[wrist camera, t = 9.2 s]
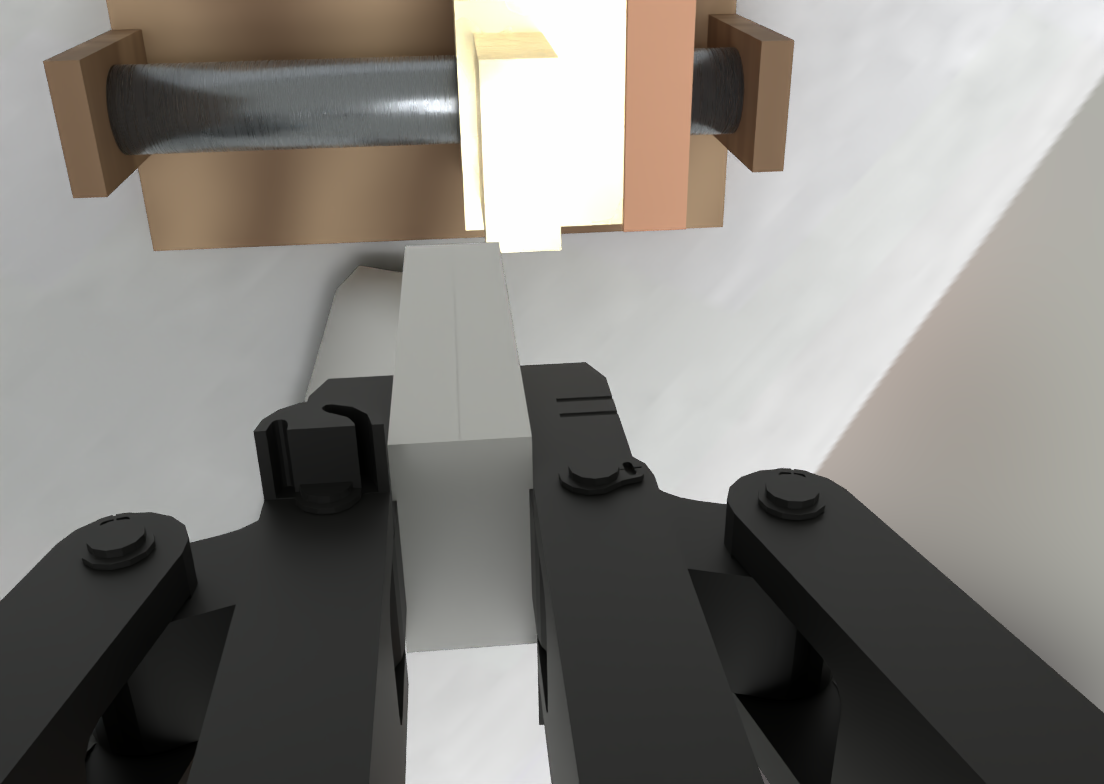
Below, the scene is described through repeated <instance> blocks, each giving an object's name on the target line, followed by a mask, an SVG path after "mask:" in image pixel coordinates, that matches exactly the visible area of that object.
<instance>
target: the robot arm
mask: <svg viewBox="0 0 1104 784" xmlns="http://www.w3.org/2000/svg"><path fill="white" fill-rule="evenodd" d="M254 437H255V443H256V450H257V456H258V462H259V469H260V475H261V481H262V488H263V494H264V504H263V507H262V511H261V515H260V518H259V520H258V521H257V522H255V523H252V524H250V525H248V526H246V527H244V528H242V529H239V530H236V531H233V532H230V533H227V534H223V535H220V536H216V537H212V538H208V539H204V540H200V541H196V542H192V543H190V541H189V537H188V534H187V530H186V527H185V525H184V524H182V523H181V522H179V521H178V520H176V519H175V518H173V517H172V516H167V515H162V514H157V513H152V512H146V513H122V514H116V516H113V515H111V516H108V517H104V518H101V519H99V520H97V521H95V522H93V523H91V524H88V525H86V526H84V527H81V528H79V529H77V530H75V531H74V532H72V533H71V534H70V535H68V536H67V537H66V538H64V539H63V540H62V541H60V542H59V543H58V544H56V545H55V546H54V547H53V548H52V550H51V551H50V552H49V553H48V554H47V555H46V556H45V557H44V558H43V559H42V560H41V561H40V562H39V563H38V564H37V565H36V566H35V567H34V568H33V569H32V570H31V571H30V572H29V573H28V574H27V575H26V576H25V577H24V578H23V579H22V580H21V581H20V582H19V583H18V584H17V585H16V586H15V587H14V588H13V589H12V590H11V591H10V592H9V593H8V594H7V595H6V596H5V597H4V598H3V599H2V600H1V601H0V784H405V773H406V742H407V711H408V674H407V663H406V653H405V637H406V647H407V653H411V652H424V651H437V650H451V649H464V648H478V647H491V646H504V645H518V644H531V643H537V653H538V693H539V725H544V726H545V734H546V742H547V750H548V759H549V767H550V775H551V783H552V784H764V782H763V779H762V776H761V773H760V770H761V771H762V773H763V774H764V775H765V777H766V778H767V780H768V781H769V783H770V784H1104V713H1103V712H1102V711H1101V710H1100V709H1098V708H1097V707H1096V706H1095V705H1094V704H1092V702H1090V701H1089V700H1088V699H1087V698H1086V697H1085V696H1083V695H1082V694H1081V693H1080V692H1079V691H1078V690H1077V689H1075V688H1074V687H1073V686H1072V685H1071V684H1070V683H1069V682H1067V681H1066V680H1065V679H1064V678H1063V677H1062V676H1060V675H1059V674H1058V673H1057V672H1056V671H1055V670H1054V669H1052V668H1051V667H1050V666H1049V665H1047V664H1046V663H1045V662H1044V661H1043V660H1042V659H1041V658H1040V657H1039V656H1037V655H1036V654H1035V653H1034V652H1033V651H1031V650H1030V649H1029V648H1028V647H1027V646H1026V645H1024V643H1022V642H1021V641H1020V640H1019V639H1018V638H1017V637H1015V636H1014V635H1013V634H1012V633H1011V632H1009V630H1007V629H1006V628H1005V627H1004V626H1003V625H1002V624H1000V623H999V622H998V621H997V620H996V619H995V618H994V617H992V616H991V615H990V614H989V613H988V612H987V611H986V610H984V609H983V608H982V607H981V606H980V605H979V604H977V603H976V602H975V601H974V600H973V599H972V598H970V597H969V596H968V595H967V594H966V593H965V592H964V591H962V590H961V589H960V588H959V587H958V586H957V585H956V584H954V583H953V582H952V581H951V580H950V579H949V578H947V577H946V576H945V575H944V574H943V573H942V572H940V571H939V570H938V569H937V568H936V567H935V566H934V565H932V564H931V563H930V562H929V561H928V560H927V559H925V558H924V557H923V556H922V555H921V554H920V553H919V552H917V551H916V550H915V549H914V548H913V547H911V545H909V544H908V543H907V542H906V541H905V540H903V538H901V537H900V536H899V535H898V534H897V533H895V532H894V531H893V530H892V529H891V528H890V527H889V526H888V525H886V524H885V523H884V522H883V521H882V520H881V519H879V518H878V517H877V516H876V515H875V514H874V513H873V512H871V511H870V510H869V509H868V508H867V507H866V506H864V505H863V504H862V503H861V502H860V501H859V500H857V499H856V498H855V497H854V496H853V495H852V494H851V493H849V492H848V491H847V490H846V489H844V488H843V487H841V486H839V485H838V484H836V483H835V482H833V481H831V480H830V479H828V478H825V477H822V476H818V475H815V474H812V473H809V472H807V471H803V470H797V469H794V470H791V469H786V468H779V469H774V470H762V471H757V472H754V473H751V474H749V475H746V476H743V477H741V478H739V479H738V480H737V481H736V482H735V483H734V484H733V485H732V486H730V488H729V493H728V498H727V504H719V503H711V502H703V501H696V500H691V499H685V498H680V497H677V496H674V495H671V494H668V493H666V492H663V491H661V490H659V488H658V485H657V482H656V479H655V477H654V474H653V473H652V472H651V471H650V469H649V468H648V467H647V465H646V464H645V463H643V462H641V461H639V460H638V459H636V458H634V457H632V454H631V451H630V448H629V445H628V442H627V439H626V436H625V433H624V430H623V427H622V424H621V421H620V418H619V415H618V414H617V410H616V407H615V404H614V401H613V399H612V395H611V392H610V389H609V386H608V383H607V380H606V377H604V376H603V375H602V374H600V373H599V372H598V371H596V370H595V369H594V368H592V367H591V366H590V365H588V364H587V363H586V362H582V363H563V364H544V365H525V366H520V363H519V357H518V351H517V345H516V340H515V334H514V328H513V322H512V316H511V310H510V304H509V298H508V292H507V286H506V280H505V274H504V268H503V263H502V257H501V251H500V245H499V242H483V243H460V244H437V245H413V246H405V253H404V265H403V276H402V287H401V298H400V309H399V321H398V332H397V343H396V354H395V365H394V375H388V376H369V377H351V378H332V379H327V380H326V381H325V382H324V383H323V384H322V385H321V386H320V387H319V388H317V389H316V390H315V391H314V392H313V393H312V394H311V395H310V396H309V397H308V401H307V402H302V403H298V404H295V405H292V406H289V407H286V408H283V409H280V410H278V411H276V412H274V413H273V414H271V415H270V416H268V417H266V418H265V419H263V420H262V421H261V422H260V424H259V425H258V426H257V428H256V429H255V430H254ZM758 767H759V768H760V770H759V768H758Z"/></svg>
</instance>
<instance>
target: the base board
mask: <svg viewBox="0 0 1104 784" xmlns="http://www.w3.org/2000/svg"><path fill="white" fill-rule="evenodd" d="M106 2H107V7H108V13H109V18H110V23H111V28H112V30H110V31H108V32H106V33H104V34H101V35H99V36H97V37H95V38H93V39H90V40H88V41H86V42H84V43H82V44H80V45H77V46H75V47H73V48H71V49H69V50H67V51H64V52H62V53H60V54H58V55H56V56H54V57H51V58H49V59H47V60H45V61H43V63H44V67H45V72H46V77H47V81H48V86H49V90H50V95H51V99H52V104H53V108H54V113H55V117H56V122H57V126H58V131H59V136H60V140H61V145H62V149H63V154H64V158H65V163H66V167H67V172H68V176H69V181H70V185H71V190H72V194H73V198H91V197H108V196H109V195H110V194H111V193H112V192H113V191H114V190H115V189H116V188H117V187H118V186H119V185H120V184H121V183H122V182H123V181H124V180H125V179H127V178H128V177H129V176H130V175H131V174H132V173H133V172H134V171H135V170H136V169H137V168H138V171H139V176H140V181H141V186H142V192H143V197H144V202H145V207H146V213H147V218H148V223H149V228H150V234H151V239H152V244H153V250H154V251H165V250H188V249H212V248H236V247H259V246H283V245H306V244H330V243H354V242H377V241H401V240H424V239H448V238H472V237H485V234H484V230H466V228H465V214H464V201H463V188H462V174H461V154H460V143H457V144H429V145H400V146H372V147H343V148H315V149H286V150H258V151H229V152H201V153H172V154H144V155H125V154H123V153H122V152H121V151H120V149H119V148H118V146H117V144H116V142H115V139H114V136H113V133H112V130H111V126H110V122H109V117H108V110H107V102H106V82H107V75H108V72H109V69H110V67H111V66H112V65H123V64H158V63H193V62H229V61H264V60H299V59H335V58H370V57H406V56H441V55H455V39H454V20H453V1H452V0H106ZM724 47H735V48H737V50H738V51H739V54H740V56H741V60H742V66H743V74H744V101H743V110H742V116H741V120H740V124H739V127H738V129H737V131H736V132H735V133H734V134H714V135H690V150H689V172H688V194H687V216H686V228H708V227H723V213H724V197H725V180H726V164H727V149H728V150H729V151H730V152H731V153H732V154H733V155H735V156H736V157H737V158H738V159H739V160H740V161H741V162H742V163H743V164H744V165H745V166H746V167H747V168H748V169H750V170H751V171H752V172H772V171H783V166H784V155H785V143H786V131H787V119H788V108H789V96H790V84H791V73H792V61H793V49H794V40H792V39H790V38H788V37H786V36H784V35H781V34H779V33H777V32H775V31H773V30H770V29H768V28H766V27H764V26H762V25H759V24H757V23H755V22H753V21H751V20H748V19H746V18H744V17H742V16H740V15H737V14H736V0H696V16H695V39H694V48H724ZM613 231H623V229H622V227H621V225H620V224H608V225H584V226H561V234H566V233H590V232H613Z"/></svg>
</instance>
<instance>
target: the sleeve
mask: <svg viewBox="0 0 1104 784" xmlns="http://www.w3.org/2000/svg"><path fill="white" fill-rule="evenodd" d="M452 1H453V20H454V39H455V55H456V58H457V77H458V97H459V116H460V135H461V143H460V154H461V174H462V188H463V201H464V214H465V228H466V230H484V234H485V242H499V245H500V251H501V253H506V252H529V251H551V250H561V226H584V225H608V224H623V195H624V138H625V80H626V23H627V0H452Z"/></svg>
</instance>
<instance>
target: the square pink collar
mask: <svg viewBox="0 0 1104 784" xmlns="http://www.w3.org/2000/svg"><path fill="white" fill-rule="evenodd" d="M695 16H696V0H627V23H626V80H625V138H624V195H623V224H620V225H621V227H622V229H623V231H624V232H632V231H655V230H679V229H686V216H687V194H688V172H689V150H690V127H691V105H692V83H693V61H694V39H695Z"/></svg>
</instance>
